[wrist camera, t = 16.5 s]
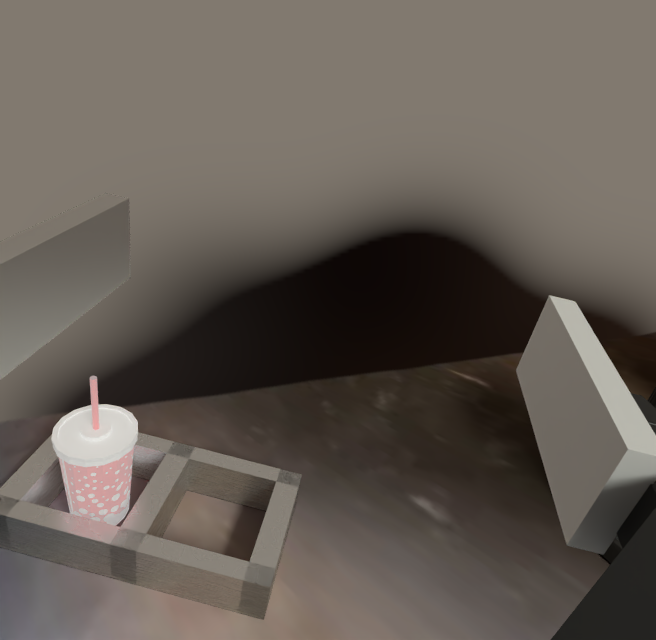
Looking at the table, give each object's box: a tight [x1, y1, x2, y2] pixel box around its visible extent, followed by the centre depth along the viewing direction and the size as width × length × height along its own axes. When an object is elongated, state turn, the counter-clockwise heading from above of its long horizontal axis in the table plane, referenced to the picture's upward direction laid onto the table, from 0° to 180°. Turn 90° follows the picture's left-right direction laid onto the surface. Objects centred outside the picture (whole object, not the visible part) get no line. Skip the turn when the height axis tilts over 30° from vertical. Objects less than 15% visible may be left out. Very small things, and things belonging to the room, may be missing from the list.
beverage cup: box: [51, 376, 138, 525], centre depth 40 cm, size 6×6×14 cm
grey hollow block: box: [0, 432, 302, 620], centre depth 42 cm, size 22×11×4 cm, turn 81°
